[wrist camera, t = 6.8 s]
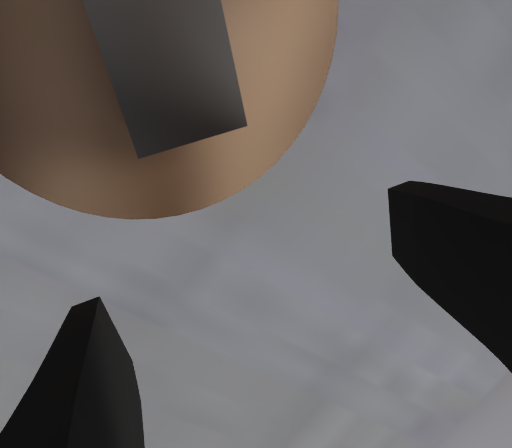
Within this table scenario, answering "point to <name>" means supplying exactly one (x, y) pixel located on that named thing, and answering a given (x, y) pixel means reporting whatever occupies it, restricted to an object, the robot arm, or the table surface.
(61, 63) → the lid
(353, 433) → the table surface
